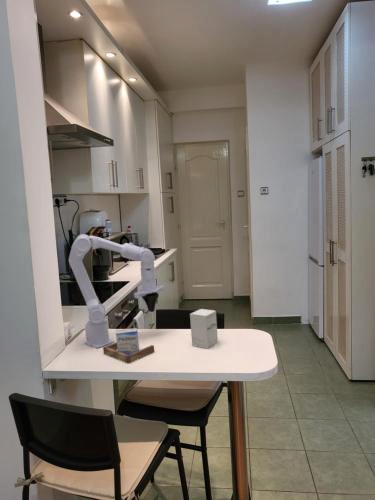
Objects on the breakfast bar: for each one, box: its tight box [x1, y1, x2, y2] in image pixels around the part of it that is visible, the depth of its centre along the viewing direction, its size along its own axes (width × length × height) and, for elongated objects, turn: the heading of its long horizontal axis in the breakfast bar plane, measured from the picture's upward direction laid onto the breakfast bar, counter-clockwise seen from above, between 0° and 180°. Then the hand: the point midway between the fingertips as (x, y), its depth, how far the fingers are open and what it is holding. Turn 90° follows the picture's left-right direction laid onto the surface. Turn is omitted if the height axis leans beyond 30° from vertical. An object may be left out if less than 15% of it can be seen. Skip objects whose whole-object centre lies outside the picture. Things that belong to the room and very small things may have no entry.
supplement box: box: [189, 308, 219, 349], centre depth 155 cm, size 7×7×13 cm
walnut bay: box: [102, 341, 155, 364], centre depth 153 cm, size 15×12×2 cm
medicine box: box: [115, 327, 140, 355], centre depth 153 cm, size 8×4×9 cm, turn 99°
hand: (151, 311), depth 168 cm, fingers closed
